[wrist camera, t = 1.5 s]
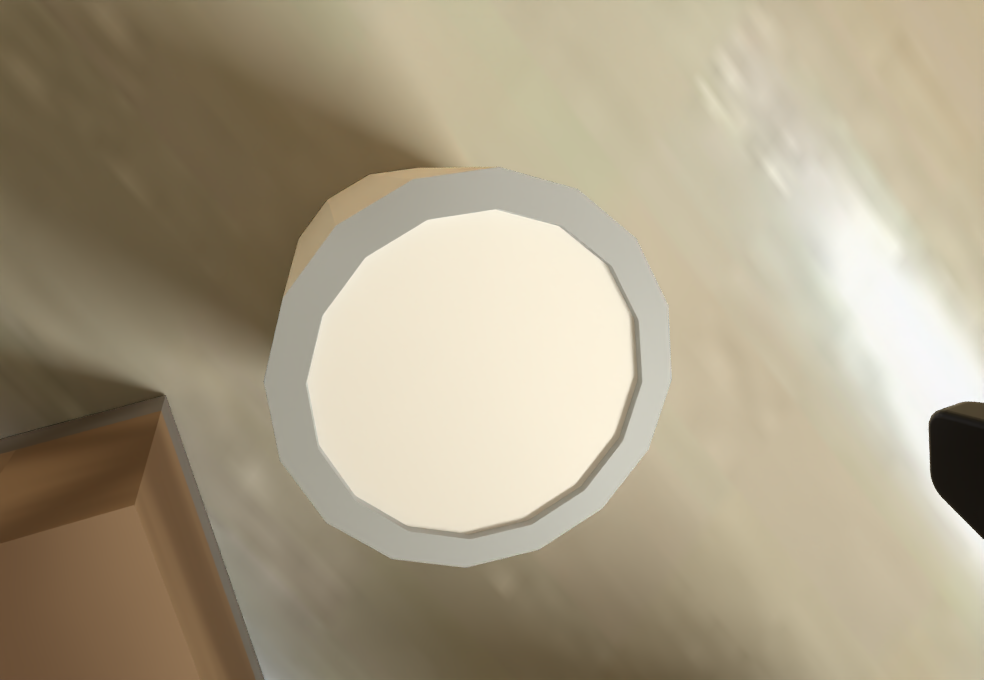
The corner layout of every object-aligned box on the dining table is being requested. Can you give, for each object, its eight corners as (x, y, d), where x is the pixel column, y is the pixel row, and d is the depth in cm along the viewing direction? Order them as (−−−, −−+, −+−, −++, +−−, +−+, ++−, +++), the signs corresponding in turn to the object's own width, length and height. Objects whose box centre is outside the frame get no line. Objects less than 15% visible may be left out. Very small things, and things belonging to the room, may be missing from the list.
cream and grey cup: (193, 282, 19) (162, 385, 12) (421, 75, 19) (509, 69, 13) (399, 475, 22) (462, 643, 15) (599, 292, 22) (748, 380, 15)
